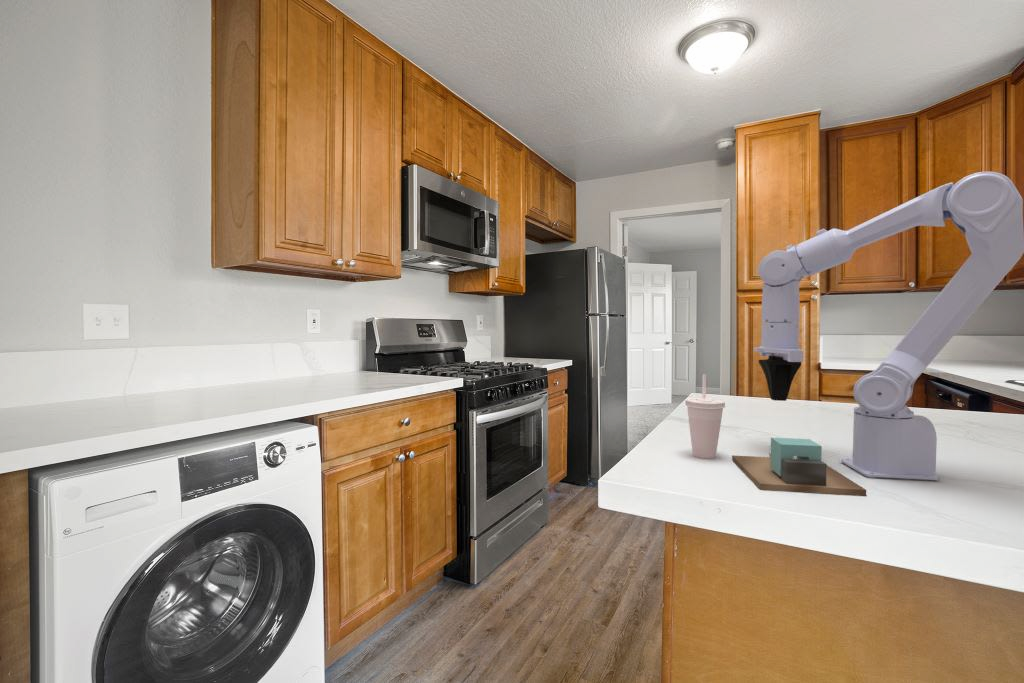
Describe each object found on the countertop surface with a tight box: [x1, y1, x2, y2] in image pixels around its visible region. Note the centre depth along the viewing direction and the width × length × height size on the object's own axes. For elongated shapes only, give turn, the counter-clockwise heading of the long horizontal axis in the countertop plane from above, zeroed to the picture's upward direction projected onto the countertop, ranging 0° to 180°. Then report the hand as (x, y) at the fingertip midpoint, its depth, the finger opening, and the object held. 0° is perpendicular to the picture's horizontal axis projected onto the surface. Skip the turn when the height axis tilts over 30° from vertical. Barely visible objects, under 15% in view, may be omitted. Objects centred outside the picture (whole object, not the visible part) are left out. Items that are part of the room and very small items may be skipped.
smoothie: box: [684, 374, 726, 460], centre depth 80 cm, size 6×6×14 cm
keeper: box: [770, 437, 823, 477], centre depth 67 cm, size 5×4×5 cm
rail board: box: [731, 452, 867, 497], centre depth 70 cm, size 13×14×4 cm
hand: (778, 400), depth 82 cm, fingers closed
